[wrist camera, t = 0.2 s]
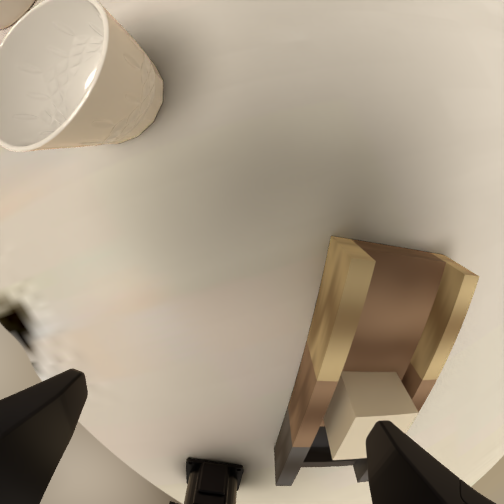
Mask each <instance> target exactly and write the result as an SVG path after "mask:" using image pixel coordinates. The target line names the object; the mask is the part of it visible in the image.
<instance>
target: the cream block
mask: <svg viewBox="0 0 504 504" xmlns="http://www.w3.org/2000/svg"><path fill="white" fill-rule="evenodd" d="M418 413H419V412H418V410H417V409H416V407H415V405H414V403H413V401H412V399H411V398H410V396H409V394H408V392H407V391H406V389H405V387H404V385H403V383H402V382H401V380H400V378H399V377H398V375H397V373H396V372H350V371H342V373H341V375H340V378H339V381H338V383H337V386H336V388H335V391H334V393H333V396H332V398H331V401H330V403H329V406H328V408H327V411H326V413H325V415H324V418H323V419H324V424H325V428H326V433H327V437H328V442H329V447H330V451H331V456H332V460H345V459H359V458H367V454H366V438H367V436H368V434H369V433H370V431H371V430H372V428H373V426H374V425H375V423H376V422H377V421H383V420H388V421H391V422H392V423H393V424H394V425H395V426H397V427H398V428H399V429H400V430H401V431H403V432H404V433H405V434H406V432H407V431H408V429H409V428H410V426H411V424H412V423H413V421H414V420H415V418H416V416H417V415H418Z"/></svg>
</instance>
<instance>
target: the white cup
mask: <svg viewBox="0 0 504 504" xmlns="http://www.w3.org/2000/svg"><path fill="white" fill-rule="evenodd" d="M162 102H163V80H162V78H161V76H160V74H159V72H158V70H157V68H156V66H155V65H154V64H153V63H152V61H151V60H150V59H149V58H148V56H147V55H146V53H145V52H144V51H143V49H142V48H141V47H140V46H139V45H138V43H137V42H136V41H135V40H134V39H133V37H132V36H131V35H130V34H129V33H128V32H127V31H126V30H125V29H124V28H123V27H122V26H121V25H120V24H119V23H118V21H117V20H116V19H115V18H114V17H113V16H112V15H111V14H110V13H109V12H108V11H107V10H106V9H105V8H104V7H103V6H102V5H101V3H100V2H99V1H98V0H44V1H43V2H41V3H39V4H38V5H36V6H35V7H33V8H32V9H31V10H29V11H28V12H27V13H26V14H25V15H24V16H22V17H21V18H20V19H19V20H18V21H17V23H16V24H15V25H14V26H13V27H12V28H11V30H10V31H9V32H8V33H7V35H6V36H5V38H4V39H3V41H2V42H1V44H0V146H2V147H3V148H5V149H7V150H10V151H14V152H26V151H35V150H46V149H59V148H75V147H84V146H97V145H102V144H119V143H122V142H125V141H127V140H130V139H133V138H135V137H138V136H139V135H140V134H141V133H142V132H143V131H144V130H145V129H146V128H147V127H148V126H149V125H150V124H151V123H153V122H154V119H155V117H156V115H157V113H158V111H159V109H160V107H161V104H162Z"/></svg>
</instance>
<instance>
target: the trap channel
mask: <svg viewBox="0 0 504 504" xmlns="http://www.w3.org/2000/svg"><path fill="white" fill-rule="evenodd" d="M478 279H479V276H477V275H476V274H474V273H473V272H471V271H469V270H468V269H466V268H465V267H463V266H461V265H460V264H458V263H456V262H455V261H453V260H451V259H450V258H448V257H446V256H445V255H441V254H435V253H430V252H424V251H419V250H413V249H407V248H402V247H396V246H390V245H384V244H378V243H372V242H366V241H360V240H353V239H347V238H341V237H334V236H331V238H330V243H329V248H328V253H327V258H326V262H325V267H324V272H323V276H322V281H321V285H320V289H319V294H318V298H317V302H316V306H315V310H314V314H313V318H312V322H311V326H310V330H309V334H308V338H307V342H306V346H305V349H304V353H303V357H302V360H301V364H300V367H299V371H298V374H297V378H296V381H295V385H294V388H293V392H292V395H291V398H290V401H289V405H288V408H287V411H286V414H285V417H284V421H283V424H282V427H281V430H280V433H279V436H278V439H277V442H276V445H275V448H274V456H275V479H276V486H291V485H292V483H293V481H294V479H295V477H296V475H297V474H298V472H299V470H300V468H301V467H330V466H348V465H353V467H354V470H355V474H356V478H357V482H366V481H369V480H368V467H367V458H359V459H345V460H332V456H331V451H330V447H329V442H328V437H327V433H326V428H325V424H324V419H323V418H324V415H325V413H326V411H327V408H328V406H329V403H330V401H331V398H332V396H333V393H334V391H335V388H336V386H337V383H338V381H339V378H340V375H341V373H342V371H350V372H396V373H397V375H398V377H399V378H400V380H401V382H402V383H403V385H404V387H405V389H406V391H407V392H408V394H409V396H410V398H411V399H412V401H413V403H414V405H415V407H416V409H417V410H418V412H419V411H420V409H421V407H422V405H423V404H424V402H425V400H426V398H427V397H428V395H429V393H430V391H431V389H432V388H433V386H434V384H435V382H436V380H437V378H438V376H439V374H440V372H441V370H442V368H443V366H444V364H445V362H446V360H447V358H448V356H449V354H450V352H451V349H452V347H453V345H454V343H455V340H456V338H457V336H458V333H459V331H460V329H461V326H462V324H463V321H464V319H465V316H466V313H467V311H468V308H469V305H470V303H471V300H472V297H473V294H474V291H475V288H476V285H477V282H478Z"/></svg>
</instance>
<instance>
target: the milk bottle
mask: <svg viewBox="0 0 504 504" xmlns="http://www.w3.org/2000/svg"><path fill="white" fill-rule="evenodd" d="M34 1H35V0H0V29H3V28H6V27H9V26H10V25H12V24H13V23H15V22H16V21H17V20H19V19H20V18H21V17H22V16H23V15H24V14H25V13H26V11H27V10H28V9H29V8H30V7H31V5H32V4H33V3H34Z"/></svg>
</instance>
